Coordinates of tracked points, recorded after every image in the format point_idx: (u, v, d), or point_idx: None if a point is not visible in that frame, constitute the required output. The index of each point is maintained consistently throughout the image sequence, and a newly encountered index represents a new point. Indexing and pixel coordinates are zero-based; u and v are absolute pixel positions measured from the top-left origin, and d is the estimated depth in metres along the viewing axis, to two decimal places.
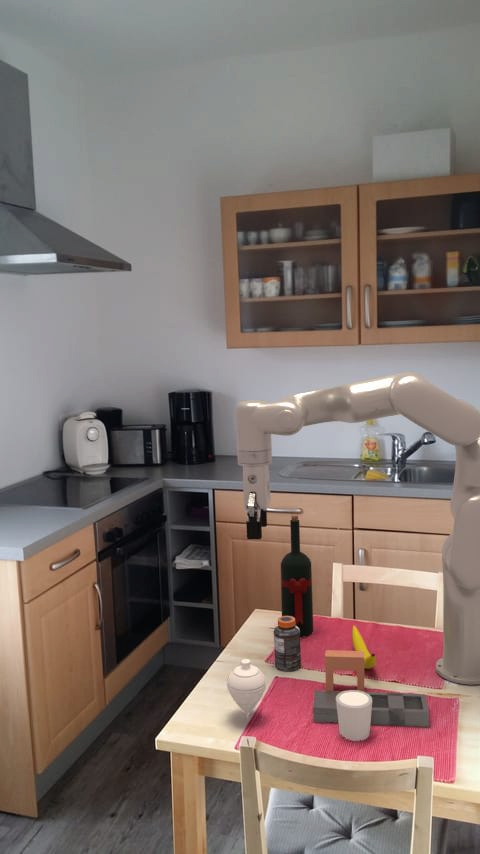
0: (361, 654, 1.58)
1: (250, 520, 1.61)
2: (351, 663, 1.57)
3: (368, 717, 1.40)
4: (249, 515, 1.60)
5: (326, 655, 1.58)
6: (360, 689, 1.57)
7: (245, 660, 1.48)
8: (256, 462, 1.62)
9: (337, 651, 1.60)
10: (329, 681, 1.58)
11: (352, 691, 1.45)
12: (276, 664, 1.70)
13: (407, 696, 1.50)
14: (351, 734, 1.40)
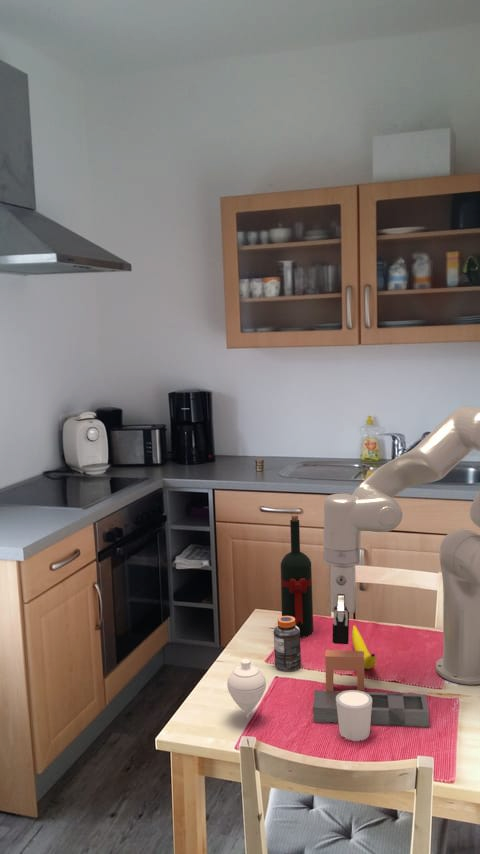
0: (361, 654, 1.58)
1: (338, 624, 1.51)
2: (351, 663, 1.57)
3: (368, 717, 1.40)
4: (338, 620, 1.49)
5: (326, 655, 1.58)
6: (360, 689, 1.57)
7: (245, 660, 1.48)
8: (345, 562, 1.52)
9: (337, 651, 1.60)
10: (329, 681, 1.58)
11: (352, 691, 1.45)
12: (276, 664, 1.70)
13: (407, 696, 1.50)
14: (351, 734, 1.40)
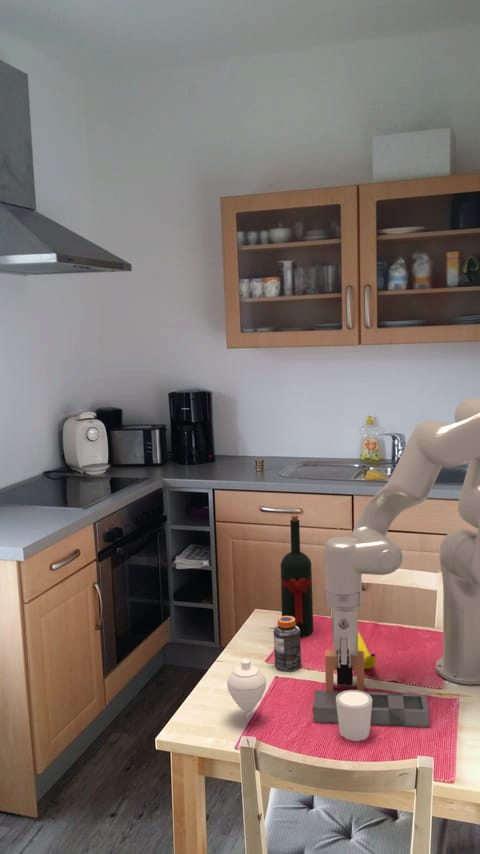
0: (361, 654, 1.58)
1: (341, 667, 1.55)
2: (351, 663, 1.57)
3: (368, 717, 1.40)
4: (341, 663, 1.54)
5: (326, 655, 1.58)
6: (360, 689, 1.57)
7: (245, 660, 1.48)
8: (347, 606, 1.53)
9: None
10: (329, 681, 1.58)
11: (352, 691, 1.45)
12: (276, 664, 1.70)
13: (407, 696, 1.50)
14: (351, 734, 1.40)
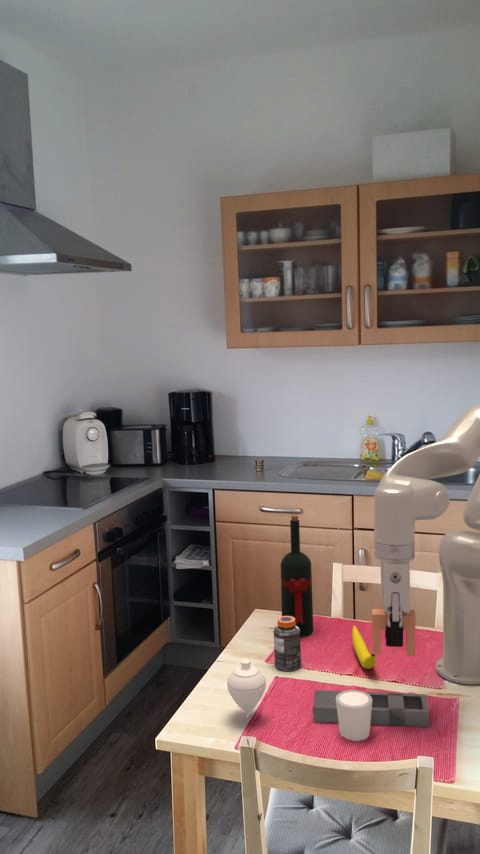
0: (412, 613, 1.44)
1: (392, 626, 1.42)
2: (402, 622, 1.43)
3: (368, 717, 1.40)
4: (392, 621, 1.41)
5: (373, 613, 1.44)
6: (410, 651, 1.44)
7: (244, 660, 1.48)
8: (400, 558, 1.40)
9: None
10: (376, 642, 1.45)
11: (352, 691, 1.45)
12: (276, 664, 1.70)
13: (407, 696, 1.50)
14: (351, 734, 1.40)
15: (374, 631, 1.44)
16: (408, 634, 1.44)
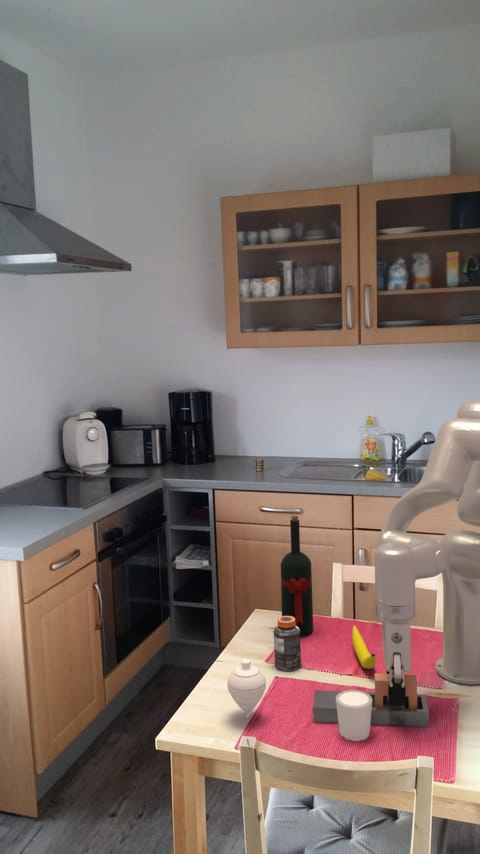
0: (413, 678, 1.47)
1: (394, 686, 1.42)
2: None
3: (368, 717, 1.40)
4: (394, 682, 1.40)
5: (376, 679, 1.47)
6: None
7: (245, 660, 1.48)
8: (400, 618, 1.41)
9: (387, 675, 1.48)
10: (379, 707, 1.47)
11: (352, 691, 1.45)
12: (276, 664, 1.70)
13: (407, 696, 1.50)
14: (351, 734, 1.40)
15: (376, 696, 1.47)
16: (410, 700, 1.46)
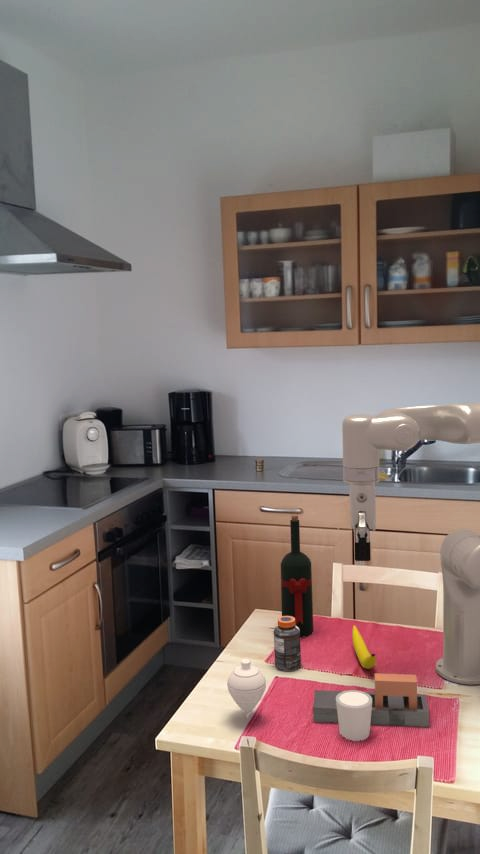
0: (413, 678, 1.47)
1: (359, 541, 1.53)
2: (403, 688, 1.46)
3: (368, 717, 1.40)
4: (359, 536, 1.52)
5: (376, 679, 1.47)
6: None
7: (245, 660, 1.48)
8: (365, 480, 1.54)
9: (387, 675, 1.48)
10: (379, 707, 1.47)
11: (352, 691, 1.45)
12: (276, 664, 1.70)
13: (407, 696, 1.50)
14: (351, 734, 1.40)
15: (376, 696, 1.47)
16: (410, 700, 1.46)
